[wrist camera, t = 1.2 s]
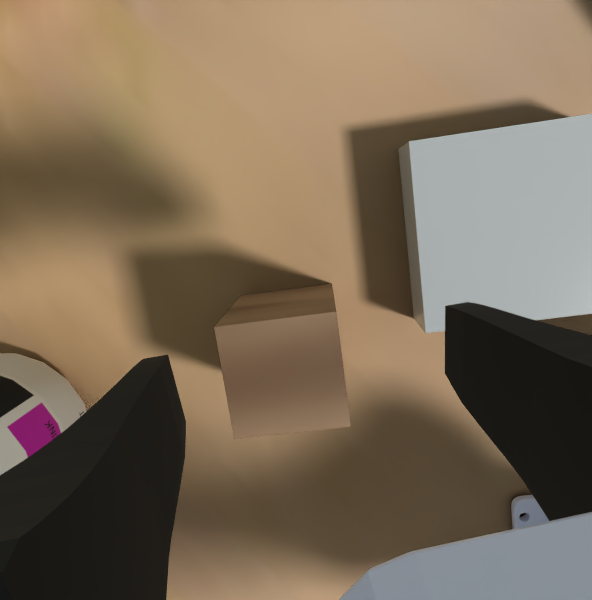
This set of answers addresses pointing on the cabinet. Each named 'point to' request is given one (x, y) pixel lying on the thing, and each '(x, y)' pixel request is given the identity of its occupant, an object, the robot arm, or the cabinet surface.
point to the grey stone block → (500, 220)
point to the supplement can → (32, 407)
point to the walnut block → (283, 362)
